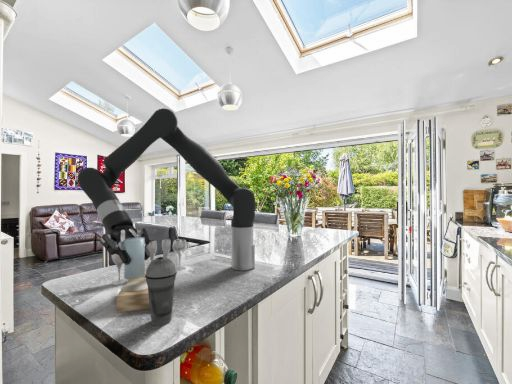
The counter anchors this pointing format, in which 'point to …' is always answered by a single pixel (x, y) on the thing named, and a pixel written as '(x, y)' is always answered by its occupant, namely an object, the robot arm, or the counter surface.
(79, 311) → the counter surface
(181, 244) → the goblet set
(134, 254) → the pale blue domed cylinder
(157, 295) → the beverage cup
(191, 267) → the counter surface
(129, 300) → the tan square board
